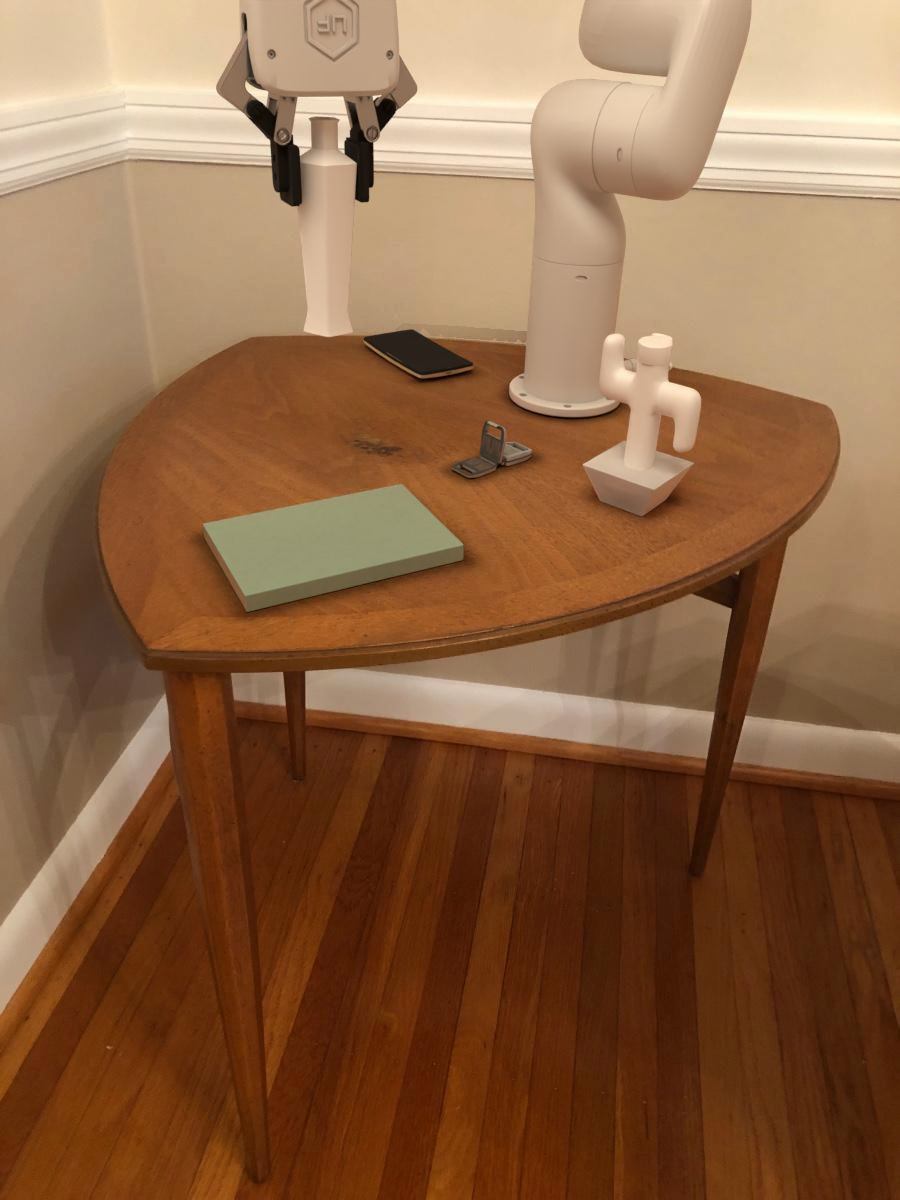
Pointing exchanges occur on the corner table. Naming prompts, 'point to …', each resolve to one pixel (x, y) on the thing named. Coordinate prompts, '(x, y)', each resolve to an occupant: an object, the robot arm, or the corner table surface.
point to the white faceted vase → (327, 229)
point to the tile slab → (329, 545)
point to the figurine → (643, 426)
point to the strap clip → (493, 454)
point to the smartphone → (417, 354)
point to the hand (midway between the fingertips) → (324, 198)
